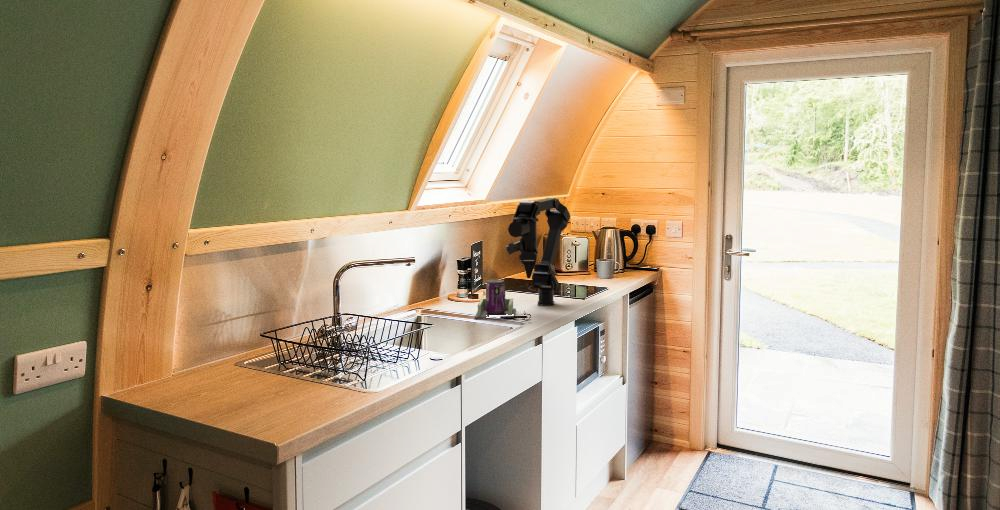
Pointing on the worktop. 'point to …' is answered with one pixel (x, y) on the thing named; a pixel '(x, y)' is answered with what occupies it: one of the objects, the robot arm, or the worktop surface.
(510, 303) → the chute bracket
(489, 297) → the beverage can
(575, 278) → the worktop surface
